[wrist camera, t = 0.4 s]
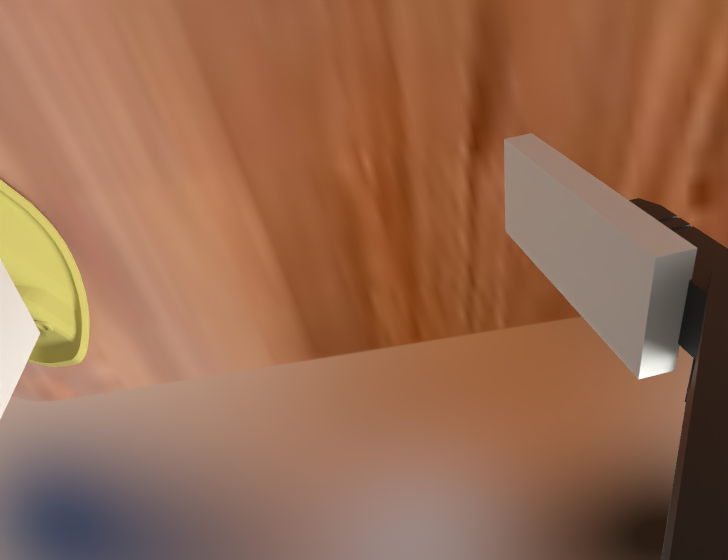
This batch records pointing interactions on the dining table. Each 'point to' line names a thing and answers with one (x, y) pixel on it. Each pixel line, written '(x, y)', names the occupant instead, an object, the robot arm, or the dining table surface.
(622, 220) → the robot arm
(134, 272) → the dining table surface
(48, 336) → the plastic component
